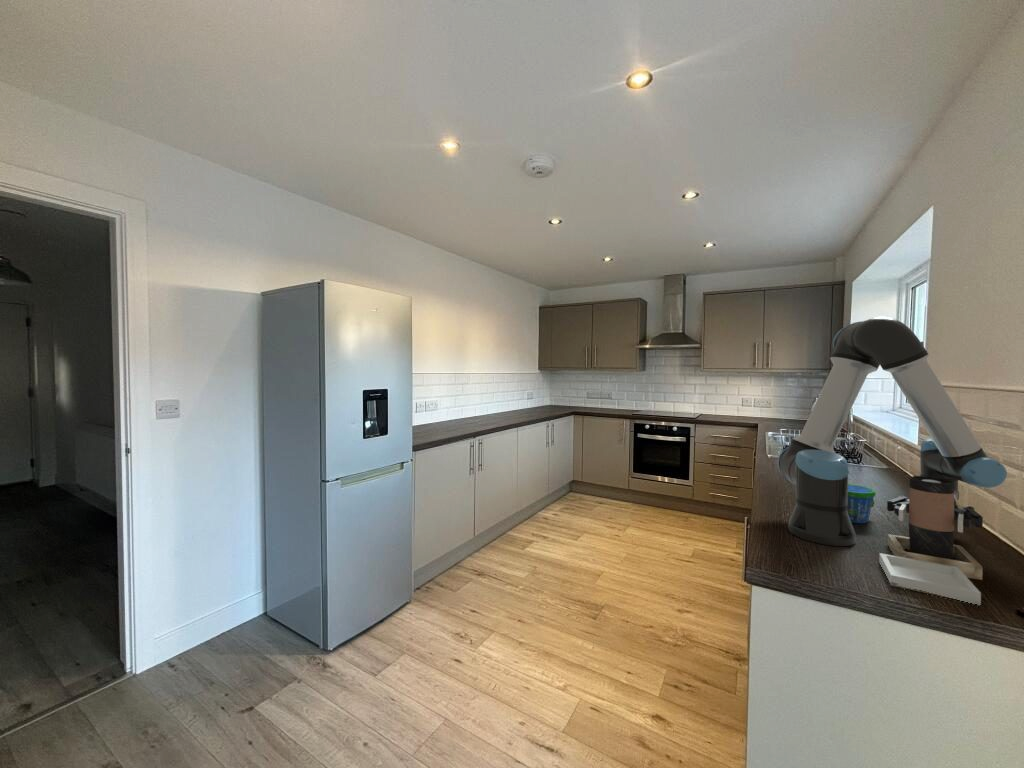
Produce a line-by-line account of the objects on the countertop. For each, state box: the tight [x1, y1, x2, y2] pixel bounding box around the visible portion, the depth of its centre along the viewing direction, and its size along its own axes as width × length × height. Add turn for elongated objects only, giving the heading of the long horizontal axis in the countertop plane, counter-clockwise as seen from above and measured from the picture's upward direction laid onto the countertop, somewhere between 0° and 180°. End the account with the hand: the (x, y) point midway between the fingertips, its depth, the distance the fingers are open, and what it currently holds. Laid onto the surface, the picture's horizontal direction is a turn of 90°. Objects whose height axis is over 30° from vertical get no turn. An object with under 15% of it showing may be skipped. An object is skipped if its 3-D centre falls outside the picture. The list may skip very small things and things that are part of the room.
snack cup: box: [847, 483, 877, 524], centre depth 126 cm, size 16×10×10 cm
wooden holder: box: [887, 533, 984, 581], centre depth 98 cm, size 13×13×3 cm
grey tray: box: [878, 552, 982, 606], centre depth 88 cm, size 13×13×2 cm
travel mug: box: [908, 475, 955, 560], centre depth 98 cm, size 8×8×20 cm
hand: (929, 520), depth 95 cm, fingers open, 9 cm apart
